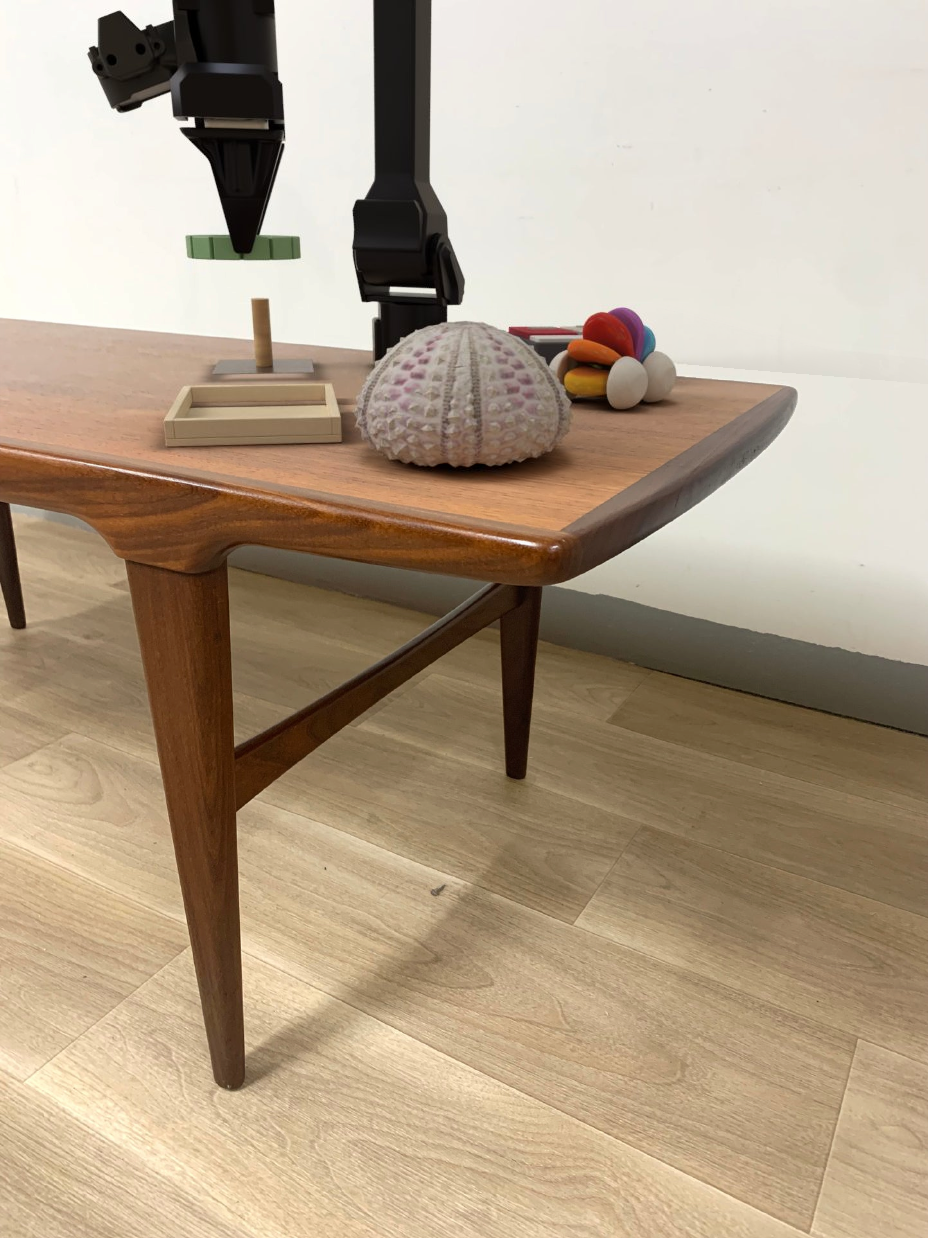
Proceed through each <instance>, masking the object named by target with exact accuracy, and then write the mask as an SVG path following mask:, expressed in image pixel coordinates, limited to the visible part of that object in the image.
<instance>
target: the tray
mask: <svg viewBox="0 0 928 1238" xmlns="http://www.w3.org/2000/svg"><path fill="white" fill-rule="evenodd" d="M279 401H280V402H281V401H283V402H285V401H325V404H294V405H293V404H285V405H284V404H283V405H280V404H279V405H234V406H233V405H230V406H229V405H228V406H192V404H193V403H225V402H226V403H229V402H231V403H232V402H279ZM338 404H339V403H338V400H337V397H336V393H335V389H334V385H333V383H277V384H270V383H269V384H217V385H215V384H214V385H213V384H211V385H207V384H206V385H183V387H182V388H181V390H180V392H179V394H178V395H177V396H176V399H174V402H173V403H172V405H171V407H170V408H169V410H168V412H167V414H166V415H165V417H164V419H163V423H162V424H163V430H164V431H163V432H164V438H165V446H166V447H167V448H168V447H171V448H172V447H209V446H211V447H213V446H214V447H215V446H245V445H246V446H247V445H249V446H250V445H251V446H253V445H286V444H326V443H329V444H330V443H342V442H343V439H342V437H343V435H342V417H341V413H340V409H339V405H338Z"/></svg>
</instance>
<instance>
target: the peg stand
mask: <svg viewBox="0 0 928 1238" xmlns="http://www.w3.org/2000/svg"><path fill="white" fill-rule="evenodd" d="M250 302H251V318H252V332H253V333H252V334H253V345H254V347H253V348H254V358H253V359H251V358H248V359H246V358H245V359H242V358H241V359H238V358H237V359H218V360H217V363H216V364H215V367H214V369H213V371H212V374H211V375H267V374H268V375H269V374H270V375H271V374H272V375H276V374H277V375H278V374H279V375H280V374H314V373H315V370H314V363H313V359H312V358H274V357H273V356H274V355H273V341H272V339H273V338H272V327H271V324H272V323H271V312H270V311H271V310H270V298H269V297H252V298H250Z"/></svg>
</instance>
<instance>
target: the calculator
mask: <svg viewBox="0 0 928 1238" xmlns="http://www.w3.org/2000/svg"><path fill="white" fill-rule="evenodd" d="M583 326H584V324H582V325H577V324H576V325H574V326H572V325H571V326H569V325H568V326H567V325H566V326H565V325H563V326H562V325H561V326H559V327H556V326H549V325H548V326H508V331H507V332H508V333H510V334H512V335H514V336H517V337H519V338H520V339H521V340H522V341H524V342H525V343H526V344H527V345H529V346H534V350H535V351H536V353H537V354H538V355H539V356H541V357H544V358H545V360H546V363H547V365H548V366H550V363H551V362H552V360H553V359H554V358H555V357H556V356H557V355H558V354H559V353H561V352H563V351H565V350H567V348H568V345H569V343H570V342H572V341H573V340H577V339H583V334H582V330H583Z"/></svg>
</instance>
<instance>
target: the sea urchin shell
mask: <svg viewBox="0 0 928 1238" xmlns="http://www.w3.org/2000/svg"><path fill="white" fill-rule="evenodd" d="M508 332H509V331H506V330H505V329H500V328H498V327H496V326H494V325H490V324H488V323H486V322H483V321H481V322H477V321H471V320H459V321H447V322H445V323H441V324H439V325H434V326H428V327H426V328H423V329H420V330H415V332H413V333H411V334H410V335H408V336H407V337H405V338H403V337H401V338H400V342H399V343H398V344H396V345H395V346H394V347H392V348H388V349H387V354H386V355H385V356H384V357H383V358H382V359H381V360H378V361H375V363H374V367H373V369H372V370H371V371H370V373H369V374H367V375H366V379H365V382H364V384H362V385H361V388H362V389H361V391H360V393H359V394H358V395H357V396H356V397H355V400H356V403H357V405H356V407H355V408H354V409H353V410H352V413H353V415H354V416H355V418H356V422H355V426H354V428H355V429H357V430H358V431H359V432H360V434H361V440H362V441H363V442H365V443H367V444H368V446H369V450H370V451H375V452H378V453H379V455H380V457H387V459H388V460H390V461H393V460H394V461H395V460H399V461H400V462H401V463H403V464H410V463H412V464H414V465H418V467H419V466H424V467H427V466H429V467H435V466H437V465H440V464H449V465H450V466H452V467H453V468H457V467H459V466H461V467H466V468H469V467H471V466H473V465H475V464H483V465H486V466H488V467H492V466H500V467H501V466H503V465H504V464H505V463H507V464H509V465H511V464H512V463H513V462H514V461H515V462H518V463H522V462H524V461H525V460H526V459H530V458H535V459H537V458H538V457H542V455H545V453H551V452H552V451H553V449H554V448H557V445H562V444H563V438H564V437H565V436H566V435H568V434H569V433H570V432H571V431H570V424H571V421H572V419H573V418H574V416H573V413H572V411H571V405H572V401H571V400H569V399H568V398H567V397H568V396H566V389H564V388H565V386H563V385H562V384H560V381H559V379H558V378H557V377H556V371H554V370H552V369H550V367H549V366H548V365H547V363H546V360H545V358H544V357H541V356H539V355H538V354H537V353H536V351H535V350H534V346H529V345H527V344H526V343H525V342H524V341H522V340H521V339H520V338H519V337H517V336H514V335H512V334H510V333H508Z"/></svg>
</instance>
